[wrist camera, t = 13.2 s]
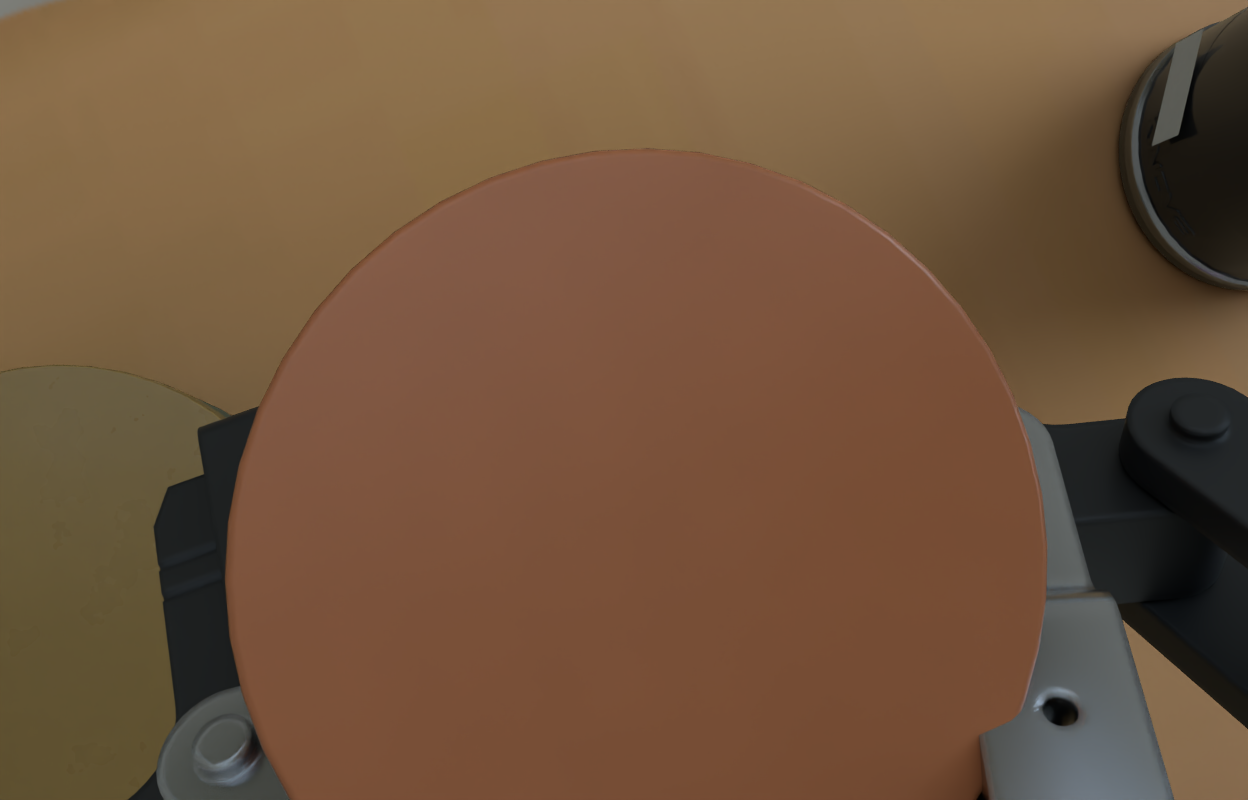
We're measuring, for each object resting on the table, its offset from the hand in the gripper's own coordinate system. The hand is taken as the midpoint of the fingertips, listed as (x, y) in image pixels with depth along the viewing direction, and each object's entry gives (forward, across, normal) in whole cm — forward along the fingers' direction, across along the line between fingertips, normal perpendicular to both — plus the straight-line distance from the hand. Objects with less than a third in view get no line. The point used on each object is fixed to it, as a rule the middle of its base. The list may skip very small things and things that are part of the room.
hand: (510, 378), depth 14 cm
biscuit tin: (+16, +11, +17) cm, 26 cm away
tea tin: (+2, 0, +5) cm, 5 cm away
